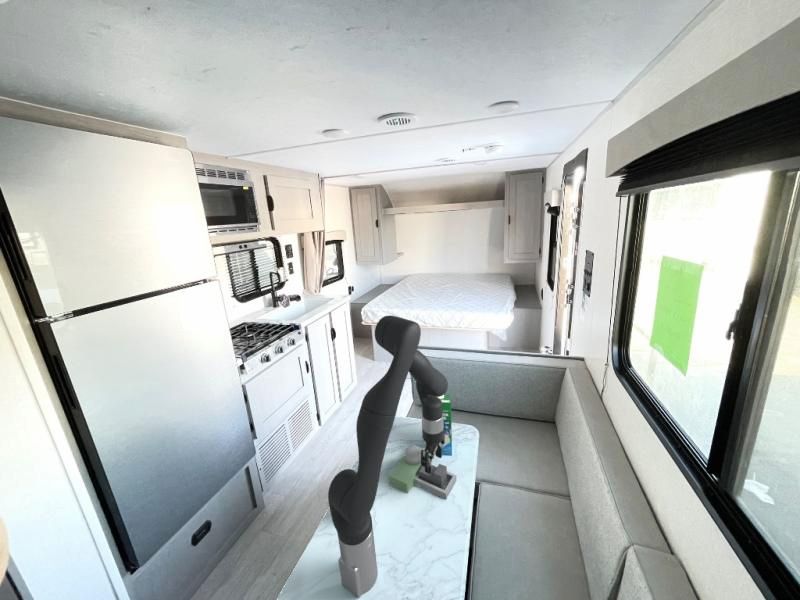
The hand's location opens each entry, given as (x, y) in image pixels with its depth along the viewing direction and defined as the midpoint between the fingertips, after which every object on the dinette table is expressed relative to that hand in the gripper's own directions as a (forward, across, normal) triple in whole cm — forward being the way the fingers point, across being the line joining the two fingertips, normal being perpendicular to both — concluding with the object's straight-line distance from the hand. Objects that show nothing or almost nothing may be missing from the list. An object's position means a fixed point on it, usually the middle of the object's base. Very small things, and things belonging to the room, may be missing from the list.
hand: (433, 464), depth 114 cm
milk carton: (+8, +17, +6) cm, 20 cm away
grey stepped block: (+8, 0, 0) cm, 8 cm away
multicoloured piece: (+8, 0, +4) cm, 9 cm away
